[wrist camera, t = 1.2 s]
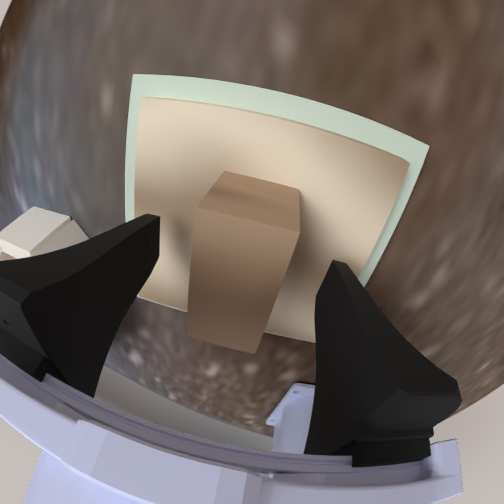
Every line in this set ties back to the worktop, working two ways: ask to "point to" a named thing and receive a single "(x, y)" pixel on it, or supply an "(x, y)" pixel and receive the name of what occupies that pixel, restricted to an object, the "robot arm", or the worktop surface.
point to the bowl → (39, 234)
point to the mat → (284, 108)
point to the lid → (254, 215)
